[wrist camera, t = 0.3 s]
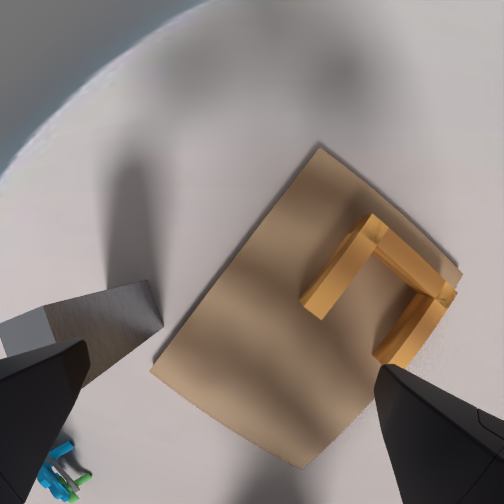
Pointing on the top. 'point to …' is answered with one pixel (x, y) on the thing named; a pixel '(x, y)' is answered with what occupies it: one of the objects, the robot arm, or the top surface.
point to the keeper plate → (310, 315)
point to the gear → (55, 480)
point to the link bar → (89, 325)
